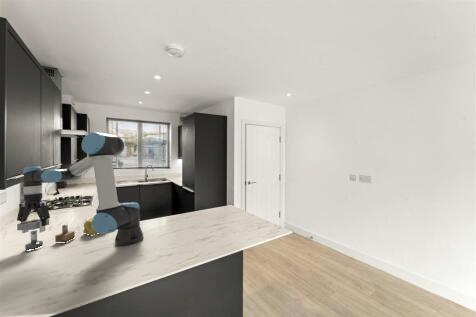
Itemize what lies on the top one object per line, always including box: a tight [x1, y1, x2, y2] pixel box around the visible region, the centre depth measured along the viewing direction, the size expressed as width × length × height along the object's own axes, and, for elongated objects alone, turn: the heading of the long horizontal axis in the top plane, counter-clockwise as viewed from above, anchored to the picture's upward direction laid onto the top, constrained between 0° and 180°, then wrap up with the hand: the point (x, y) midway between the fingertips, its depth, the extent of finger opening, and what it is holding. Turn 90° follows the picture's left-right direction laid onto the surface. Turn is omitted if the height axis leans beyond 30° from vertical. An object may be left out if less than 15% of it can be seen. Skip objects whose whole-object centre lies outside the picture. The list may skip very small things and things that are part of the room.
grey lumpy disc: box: [16, 218, 50, 231], centre depth 112 cm, size 9×9×4 cm
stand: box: [54, 224, 76, 243], centre depth 121 cm, size 6×6×10 cm
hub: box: [24, 229, 44, 250], centre depth 112 cm, size 7×7×10 cm
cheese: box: [83, 217, 98, 235], centre depth 135 cm, size 10×11×10 cm
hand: (33, 232), depth 112 cm, fingers closed on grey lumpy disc, 9 cm apart
